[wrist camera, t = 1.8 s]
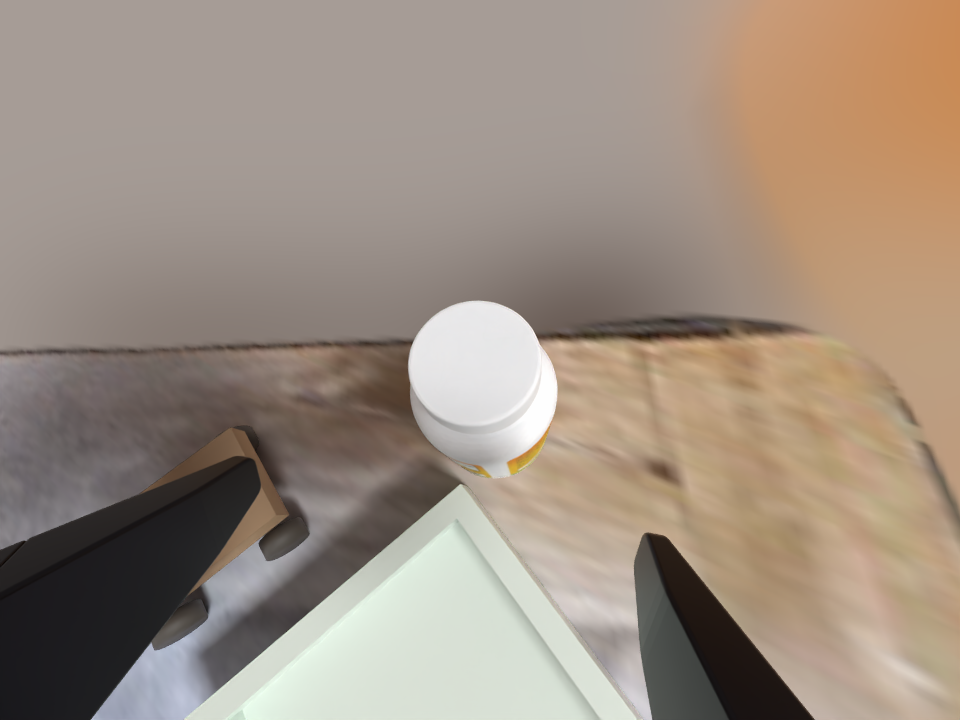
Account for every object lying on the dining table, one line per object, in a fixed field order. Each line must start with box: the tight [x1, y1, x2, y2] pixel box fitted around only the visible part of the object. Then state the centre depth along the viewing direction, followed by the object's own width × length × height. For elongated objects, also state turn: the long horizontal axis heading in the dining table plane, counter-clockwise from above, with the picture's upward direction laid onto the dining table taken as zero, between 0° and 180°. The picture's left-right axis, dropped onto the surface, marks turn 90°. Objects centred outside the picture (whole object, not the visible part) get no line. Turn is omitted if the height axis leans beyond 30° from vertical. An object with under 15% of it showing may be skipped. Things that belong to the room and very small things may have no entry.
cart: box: [140, 426, 310, 650], centre depth 18 cm, size 8×7×4 cm
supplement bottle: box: [408, 301, 557, 478], centre depth 16 cm, size 5×5×10 cm
